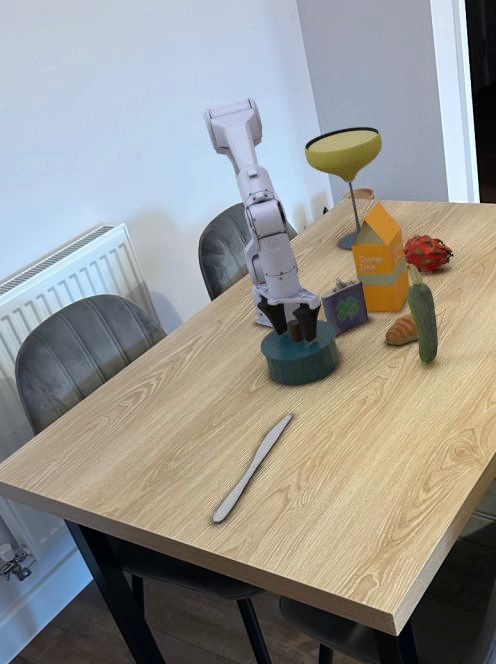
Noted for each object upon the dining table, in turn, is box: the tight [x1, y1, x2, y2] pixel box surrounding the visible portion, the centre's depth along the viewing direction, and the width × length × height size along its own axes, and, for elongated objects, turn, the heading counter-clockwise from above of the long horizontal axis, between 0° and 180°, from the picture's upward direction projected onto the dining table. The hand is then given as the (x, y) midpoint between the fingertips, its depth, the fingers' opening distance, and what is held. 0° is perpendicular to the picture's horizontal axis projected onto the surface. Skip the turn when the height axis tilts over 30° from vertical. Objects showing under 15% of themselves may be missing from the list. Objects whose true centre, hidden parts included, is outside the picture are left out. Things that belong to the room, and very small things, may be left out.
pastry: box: [384, 311, 418, 346], centre depth 145 cm, size 9×7×4 cm
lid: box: [260, 319, 337, 361], centre depth 140 cm, size 14×14×4 cm
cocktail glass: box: [304, 126, 383, 250], centre depth 183 cm, size 18×18×25 cm
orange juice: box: [351, 201, 411, 313], centre depth 154 cm, size 8×9×20 cm
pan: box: [265, 338, 340, 386], centre depth 143 cm, size 13×13×6 cm
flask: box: [320, 277, 369, 337], centre depth 151 cm, size 9×3×11 cm, turn 121°
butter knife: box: [212, 414, 293, 523], centre depth 122 cm, size 1×27×3 cm
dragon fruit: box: [404, 234, 455, 274], centre depth 167 cm, size 8×8×12 cm
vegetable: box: [404, 263, 439, 366], centre depth 130 cm, size 4×4×20 cm
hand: (297, 336), depth 141 cm, fingers open, 7 cm apart
